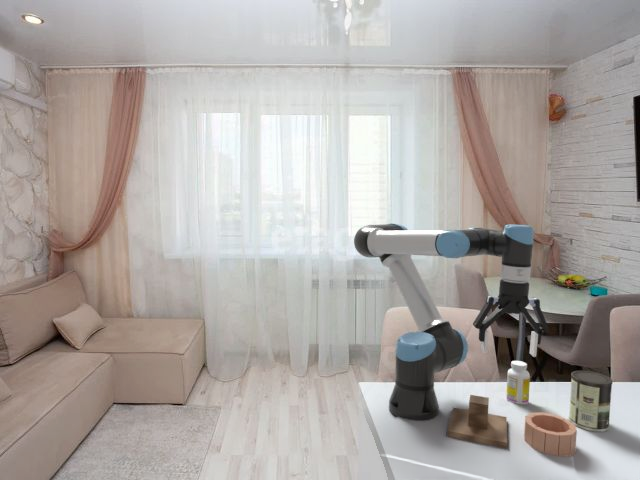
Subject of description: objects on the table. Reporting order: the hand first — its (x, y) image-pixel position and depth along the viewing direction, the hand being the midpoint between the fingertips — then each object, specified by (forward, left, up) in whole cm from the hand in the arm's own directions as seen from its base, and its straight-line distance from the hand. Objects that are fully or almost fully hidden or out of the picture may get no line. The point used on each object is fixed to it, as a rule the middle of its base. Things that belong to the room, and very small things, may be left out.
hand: (508, 353), depth 126 cm
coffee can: (+23, +13, -22) cm, 34 cm away
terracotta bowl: (+11, -5, -22) cm, 25 cm away
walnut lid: (-7, -5, -21) cm, 23 cm away
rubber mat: (-7, -5, -22) cm, 23 cm away
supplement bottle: (+4, +20, -22) cm, 30 cm away
